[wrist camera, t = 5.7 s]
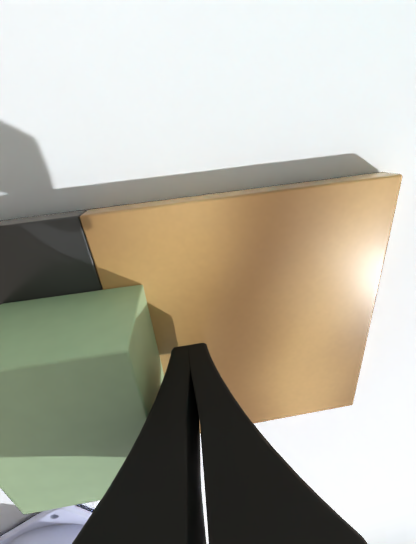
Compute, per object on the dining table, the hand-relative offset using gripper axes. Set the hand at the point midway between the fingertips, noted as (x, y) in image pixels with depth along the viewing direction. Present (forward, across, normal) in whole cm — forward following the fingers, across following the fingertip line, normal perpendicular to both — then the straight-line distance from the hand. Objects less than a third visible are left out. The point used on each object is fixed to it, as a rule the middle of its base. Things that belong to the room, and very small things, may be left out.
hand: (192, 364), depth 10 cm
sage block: (+1, +4, 0) cm, 4 cm away
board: (+2, +2, 0) cm, 3 cm away
